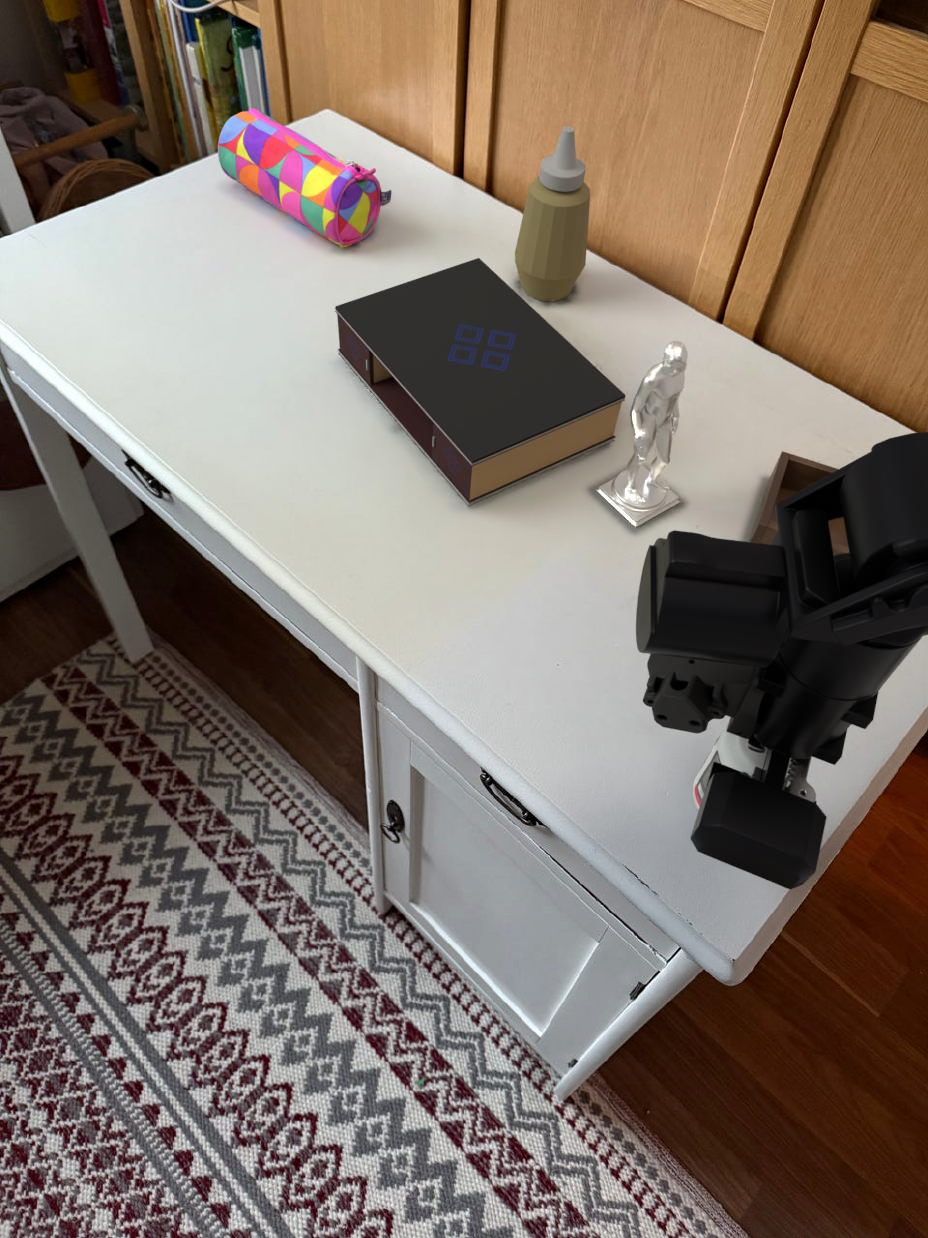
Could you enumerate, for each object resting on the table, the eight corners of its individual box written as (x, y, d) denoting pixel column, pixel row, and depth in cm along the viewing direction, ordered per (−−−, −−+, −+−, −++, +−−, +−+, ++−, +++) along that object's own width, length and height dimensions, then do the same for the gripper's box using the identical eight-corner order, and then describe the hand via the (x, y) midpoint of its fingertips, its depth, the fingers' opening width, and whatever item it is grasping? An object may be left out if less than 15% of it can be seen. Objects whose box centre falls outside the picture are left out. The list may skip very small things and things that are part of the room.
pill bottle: (769, 845, 60) (824, 781, 52) (687, 826, 60) (730, 760, 52) (771, 773, 63) (824, 702, 55) (694, 755, 63) (735, 682, 55)
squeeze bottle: (497, 289, 104) (512, 131, 90) (535, 258, 108) (555, 100, 94) (557, 317, 102) (582, 159, 87) (593, 283, 106) (623, 126, 91)
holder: (871, 515, 87) (890, 485, 83) (854, 591, 81) (873, 562, 78) (768, 481, 89) (782, 450, 85) (744, 553, 83) (758, 523, 80)
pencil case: (397, 229, 110) (396, 155, 103) (343, 262, 106) (338, 188, 99) (271, 163, 118) (262, 90, 110) (216, 191, 113) (202, 117, 106)
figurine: (613, 540, 83) (657, 386, 68) (574, 490, 87) (608, 333, 72) (687, 512, 86) (744, 357, 71) (646, 464, 89) (693, 307, 74)
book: (467, 513, 84) (471, 461, 79) (338, 359, 96) (334, 306, 90) (613, 446, 90) (626, 394, 85) (475, 310, 102) (478, 257, 96)
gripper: (723, 483, 53) (663, 633, 66) (629, 741, 43) (579, 860, 56) (915, 546, 51) (815, 689, 64) (864, 833, 41) (757, 935, 54)
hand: (742, 783), depth 59 cm, fingers closed on pill bottle, 5 cm apart
